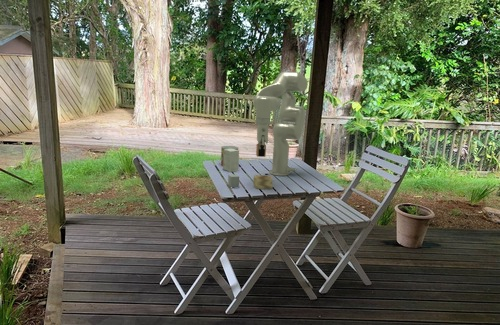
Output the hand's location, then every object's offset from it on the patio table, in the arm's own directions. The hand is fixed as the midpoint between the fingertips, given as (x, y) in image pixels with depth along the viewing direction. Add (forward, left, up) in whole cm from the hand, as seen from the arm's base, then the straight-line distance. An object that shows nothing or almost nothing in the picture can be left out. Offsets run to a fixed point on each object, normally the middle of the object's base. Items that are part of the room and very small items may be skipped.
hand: (260, 155), depth 199 cm
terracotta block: (0, 0, 0) cm, 0 cm away
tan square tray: (-2, +1, -17) cm, 17 cm away
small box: (+13, -34, -17) cm, 41 cm away
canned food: (+13, -48, -17) cm, 53 cm away
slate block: (+14, +2, -17) cm, 22 cm away
